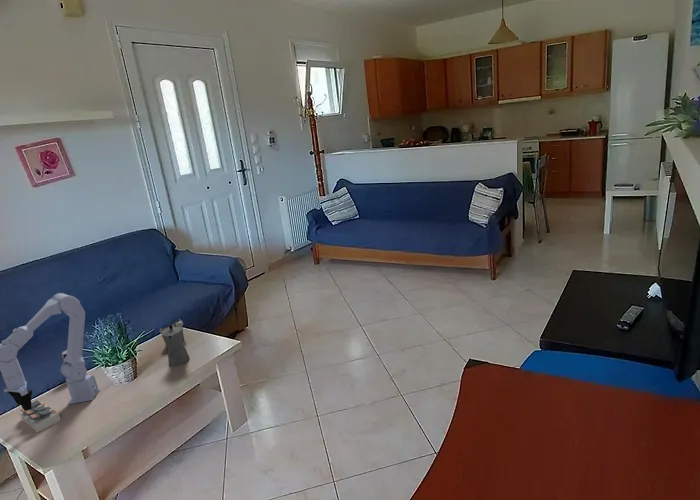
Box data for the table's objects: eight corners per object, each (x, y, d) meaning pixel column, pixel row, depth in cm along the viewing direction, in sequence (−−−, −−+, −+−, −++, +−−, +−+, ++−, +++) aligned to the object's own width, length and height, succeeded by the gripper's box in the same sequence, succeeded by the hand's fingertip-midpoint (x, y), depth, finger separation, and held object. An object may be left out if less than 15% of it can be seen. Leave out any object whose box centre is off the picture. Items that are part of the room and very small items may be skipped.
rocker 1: (38, 402, 178) (36, 399, 178) (41, 405, 176) (39, 401, 176) (21, 412, 174) (19, 409, 173) (24, 415, 172) (23, 411, 171)
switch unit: (44, 407, 181) (42, 401, 180) (60, 419, 172) (58, 412, 171) (22, 419, 175) (19, 412, 174) (37, 432, 166) (34, 425, 165)
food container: (171, 349, 218) (166, 330, 216) (163, 347, 222) (158, 328, 219) (192, 338, 228) (187, 320, 225) (184, 336, 231) (179, 318, 229)
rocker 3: (47, 412, 172) (47, 408, 172) (51, 414, 170) (51, 410, 170) (29, 418, 168) (29, 414, 167) (33, 421, 165) (32, 417, 165)
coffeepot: (188, 365, 201) (179, 328, 196) (166, 370, 199) (156, 333, 194) (191, 349, 215) (183, 315, 210) (171, 354, 214) (162, 319, 209)
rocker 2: (42, 408, 175) (42, 404, 175) (46, 411, 173) (46, 407, 173) (24, 414, 171) (24, 410, 170) (28, 417, 168) (27, 413, 168)
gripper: (-7, 374, 167) (6, 406, 171) (6, 385, 158) (18, 418, 162) (15, 365, 172) (27, 396, 176) (29, 375, 163) (40, 407, 167)
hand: (24, 406), depth 169 cm, fingers open, 7 cm apart
